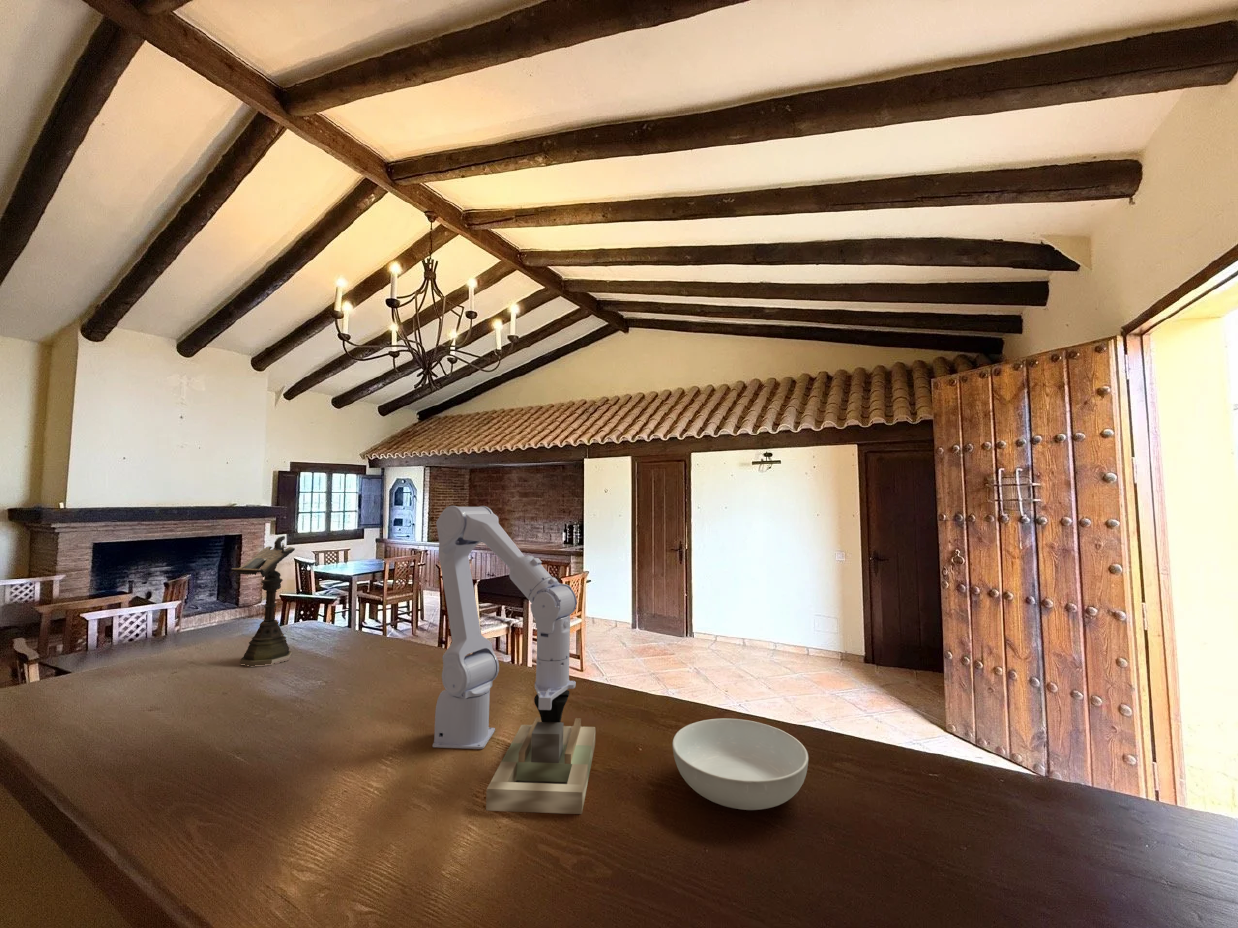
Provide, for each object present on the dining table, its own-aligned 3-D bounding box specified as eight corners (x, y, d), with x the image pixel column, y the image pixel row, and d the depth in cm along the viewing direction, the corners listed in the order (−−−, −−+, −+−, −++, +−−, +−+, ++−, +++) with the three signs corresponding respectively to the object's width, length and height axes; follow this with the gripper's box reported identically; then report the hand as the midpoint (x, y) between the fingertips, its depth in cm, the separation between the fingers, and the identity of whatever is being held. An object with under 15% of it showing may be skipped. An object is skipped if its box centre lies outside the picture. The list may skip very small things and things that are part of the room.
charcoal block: (531, 762, 82) (531, 733, 83) (536, 749, 87) (537, 721, 87) (558, 763, 82) (559, 734, 83) (563, 749, 87) (563, 722, 87)
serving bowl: (668, 756, 91) (668, 716, 92) (786, 759, 91) (785, 719, 91) (677, 829, 71) (677, 777, 71) (830, 834, 70) (829, 782, 71)
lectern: (245, 675, 131) (255, 537, 133) (211, 669, 135) (221, 536, 138) (305, 657, 146) (312, 534, 149) (272, 652, 150) (280, 533, 153)
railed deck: (486, 810, 74) (487, 777, 75) (521, 741, 96) (521, 716, 97) (581, 813, 74) (582, 781, 74) (595, 743, 96) (595, 718, 96)
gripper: (570, 670, 82) (568, 758, 81) (580, 645, 97) (579, 720, 95) (526, 668, 82) (524, 756, 81) (543, 644, 97) (541, 718, 96)
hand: (551, 736), depth 88 cm, fingers closed
